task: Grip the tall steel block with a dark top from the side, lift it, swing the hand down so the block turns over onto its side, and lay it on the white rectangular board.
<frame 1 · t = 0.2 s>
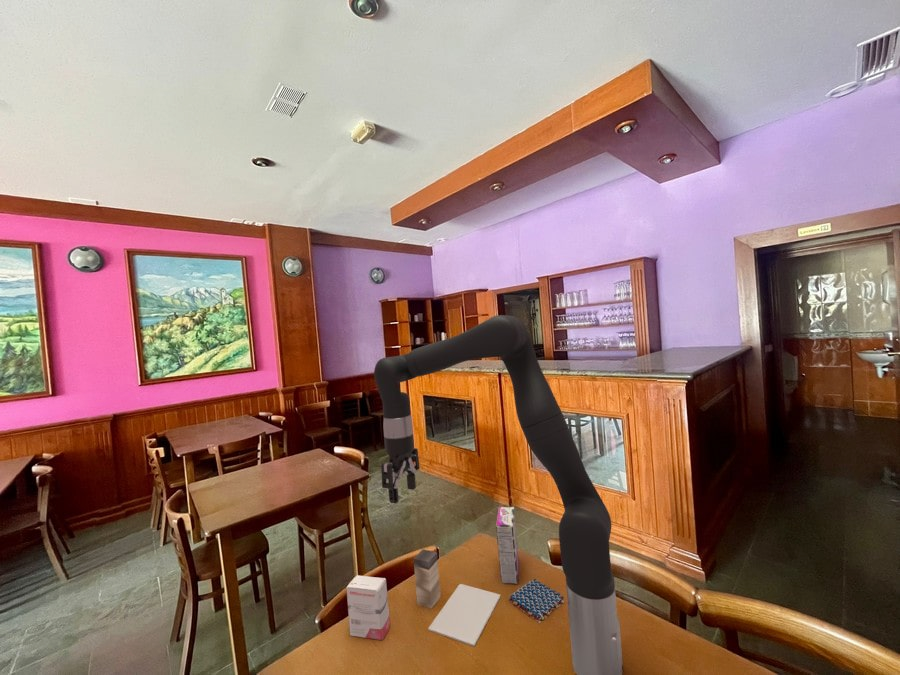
hand: (403, 495, 95), 29 cm above the table, tool pointing down, fingers open, 8 cm apart
ink box: (370, 631, 88), on the table
woven mat: (536, 604, 93), on the table
white rectangular board: (466, 612, 92), on the table
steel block: (429, 600, 97), on the table
candy bar box: (510, 572, 106), on the table
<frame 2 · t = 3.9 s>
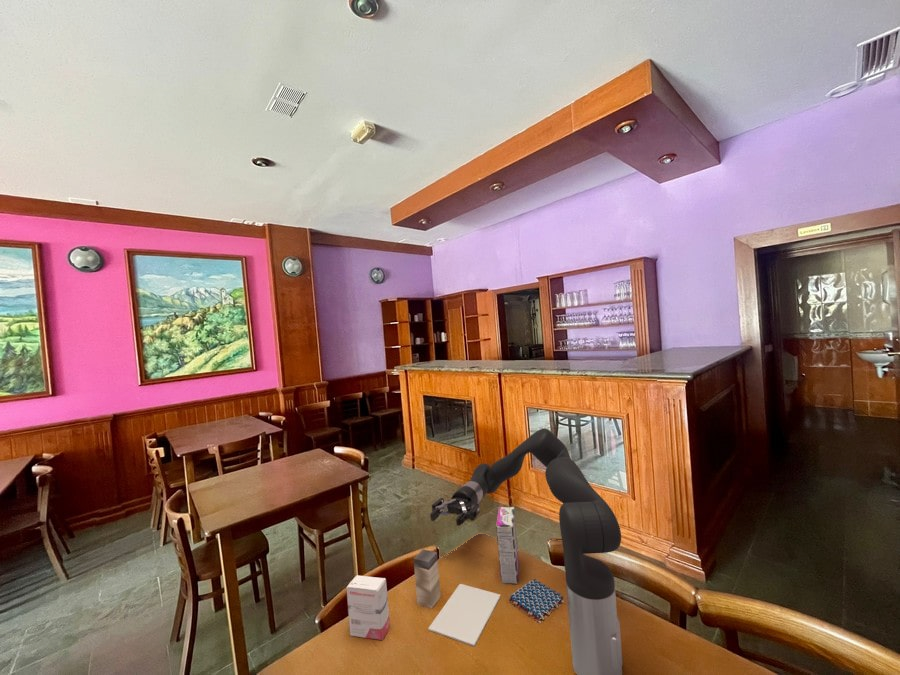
hand: (444, 520, 107), 16 cm above the table, tool horizontal, fingers open, 8 cm apart
nothing on the table moved.
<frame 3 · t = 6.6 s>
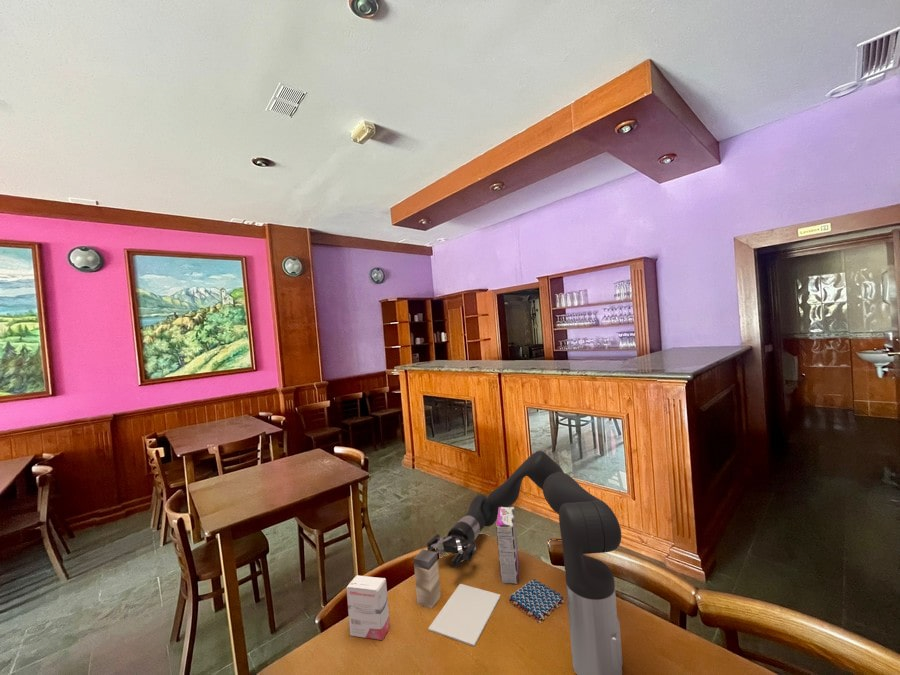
hand: (439, 561, 103), 6 cm above the table, tool horizontal, fingers open, 8 cm apart
nothing on the table moved.
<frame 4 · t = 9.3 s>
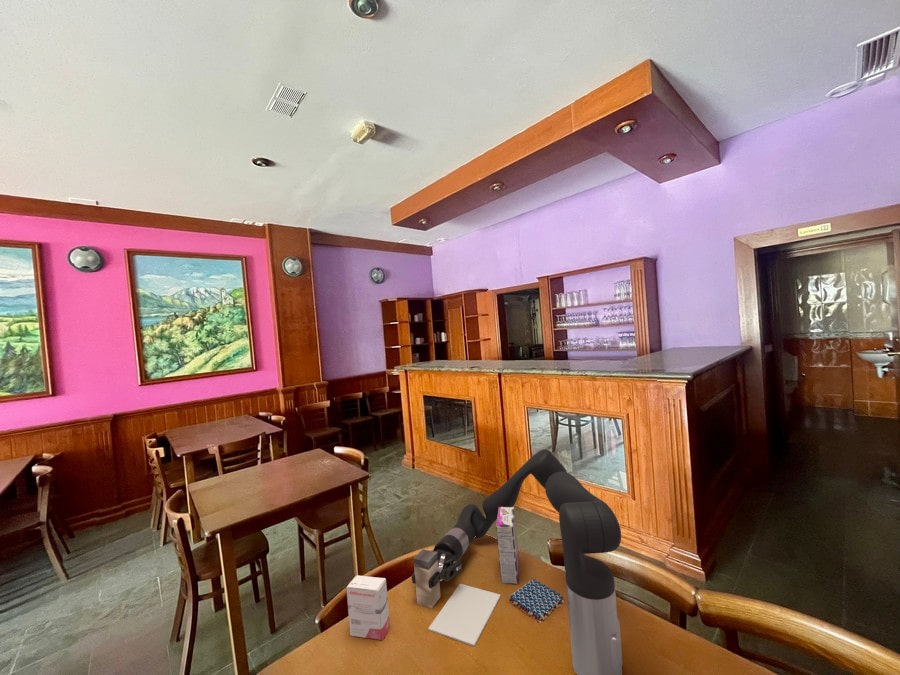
hand: (421, 582, 94), 7 cm above the table, tool horizontal, fingers closed on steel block, 4 cm apart
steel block: (428, 600, 97), on the table, touching gripper
everything else where it was.
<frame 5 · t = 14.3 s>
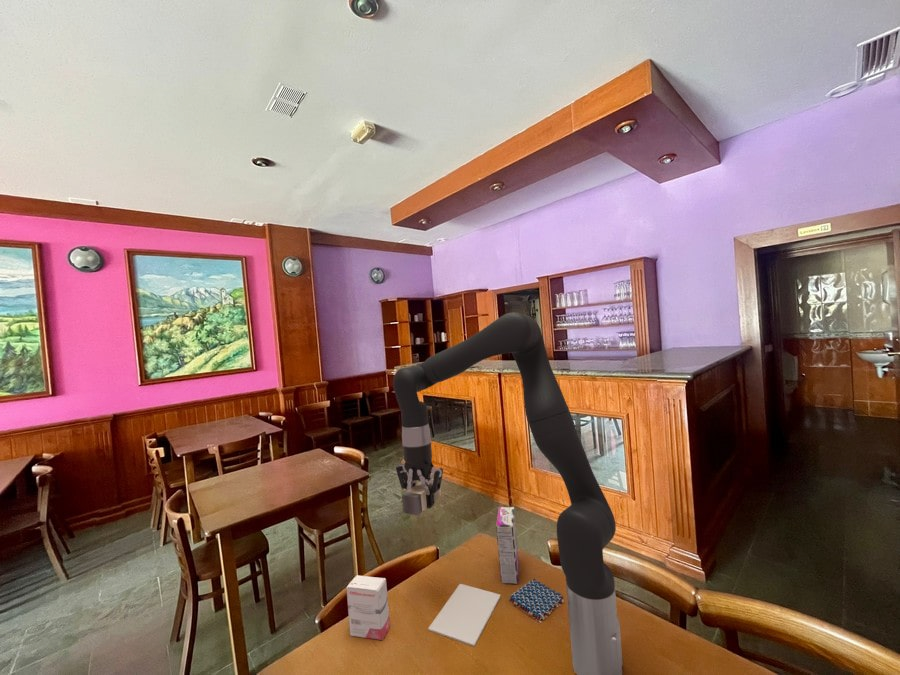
hand: (421, 505, 97), 25 cm above the table, tool pointing down, fingers closed on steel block, 4 cm apart
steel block: (433, 486, 103), point 28 cm above the table, tilted 90°, touching gripper
everything else where it was.
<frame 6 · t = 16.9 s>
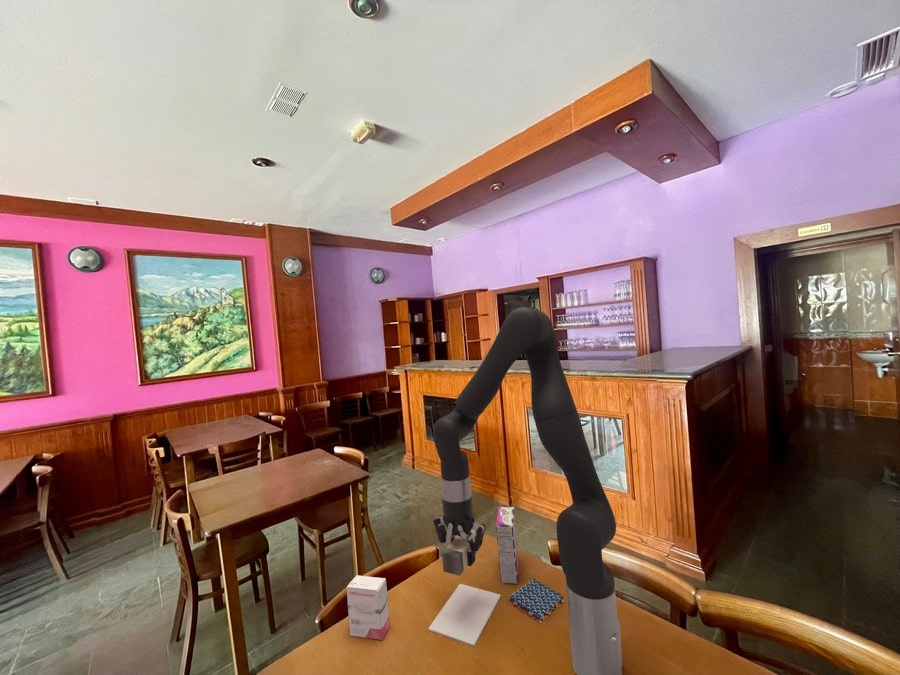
hand: (461, 561, 91), 13 cm above the table, tool pointing down, fingers closed on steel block, 4 cm apart
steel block: (472, 537, 97), point 15 cm above the table, tilted 91°, touching gripper
everything else where it was.
when the fingers open (2 cm above the table, at t = 19.5 s): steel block drops 2 cm, resting on white rectangular board.
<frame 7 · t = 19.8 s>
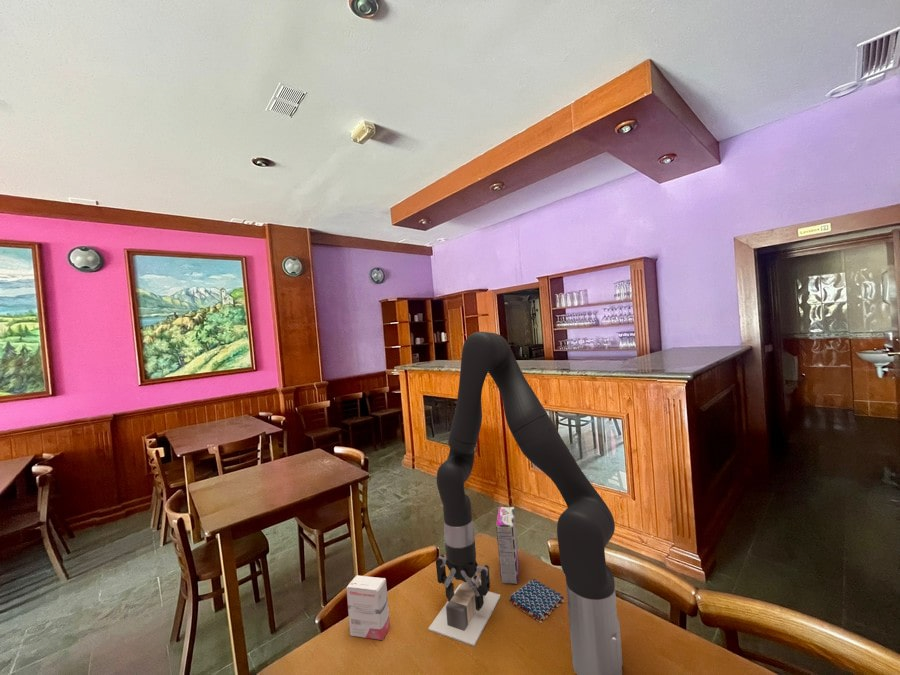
hand: (464, 603, 91), 2 cm above the table, tool pointing down, fingers open, 7 cm apart
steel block: (475, 586, 97), point 3 cm above the table, tilted 90°, touching white rectangular board
everything else where it was.
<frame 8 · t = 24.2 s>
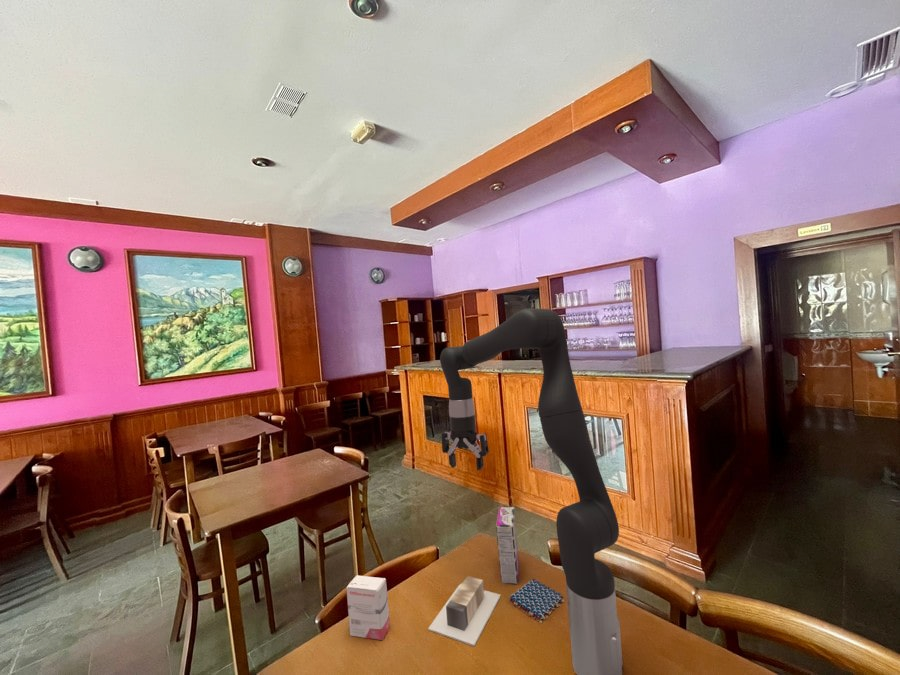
hand: (466, 468, 108), 30 cm above the table, tool pointing down, fingers open, 8 cm apart
nothing on the table moved.
at the end: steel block tilted 90°; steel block inside the target area (5.6 cm from its centre), point 2.6 cm above the table; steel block touching white rectangular board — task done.
